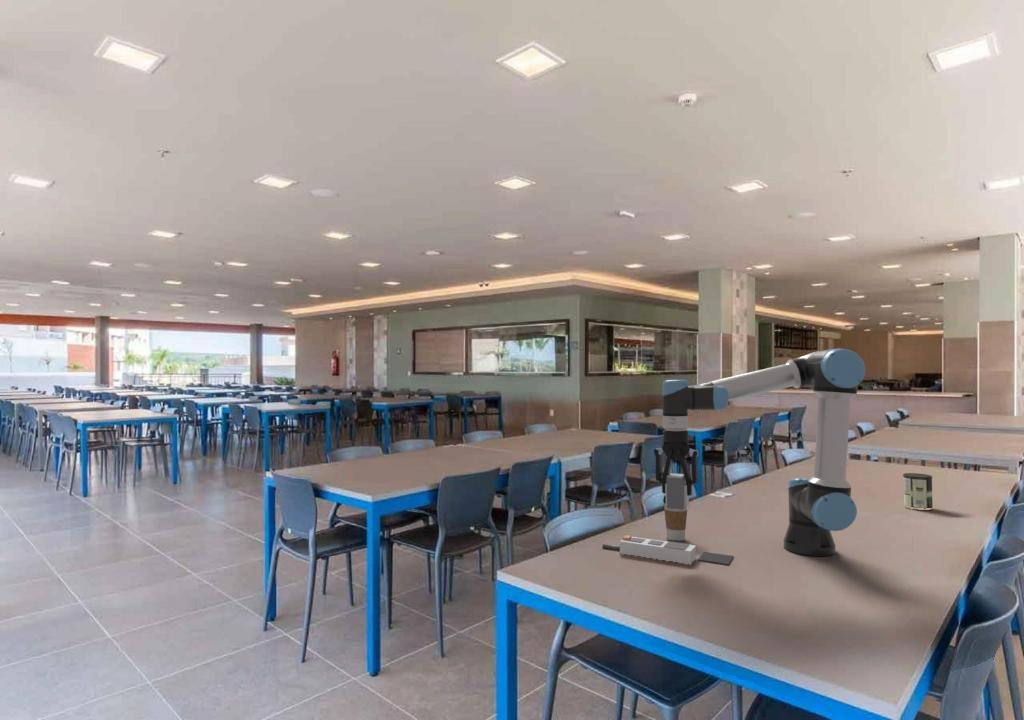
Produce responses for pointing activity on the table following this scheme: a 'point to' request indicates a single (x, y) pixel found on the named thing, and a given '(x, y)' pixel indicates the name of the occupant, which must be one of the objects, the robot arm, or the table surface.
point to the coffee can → (917, 490)
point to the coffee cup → (675, 522)
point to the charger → (675, 491)
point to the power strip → (656, 549)
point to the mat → (716, 558)
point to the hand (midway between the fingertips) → (677, 504)
